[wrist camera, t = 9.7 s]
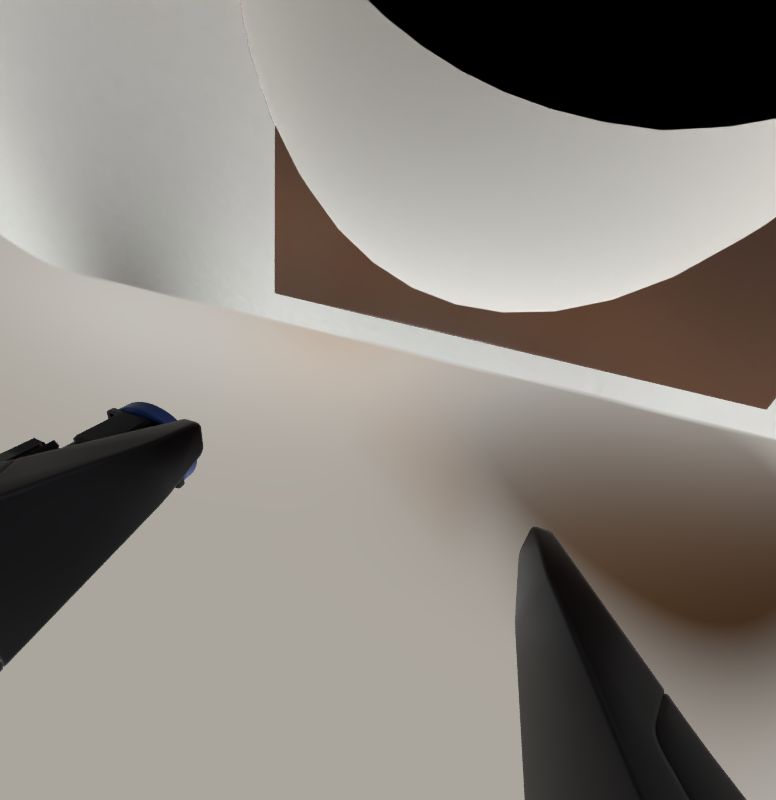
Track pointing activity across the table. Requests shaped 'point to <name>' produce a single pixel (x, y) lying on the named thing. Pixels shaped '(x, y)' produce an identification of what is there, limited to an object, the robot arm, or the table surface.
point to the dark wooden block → (570, 328)
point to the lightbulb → (527, 136)
